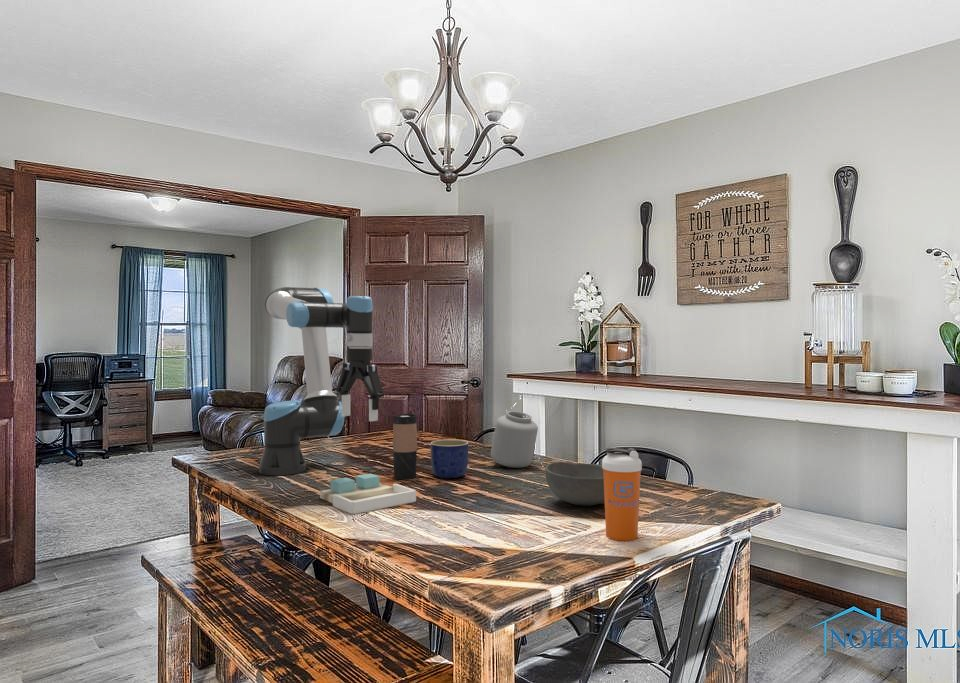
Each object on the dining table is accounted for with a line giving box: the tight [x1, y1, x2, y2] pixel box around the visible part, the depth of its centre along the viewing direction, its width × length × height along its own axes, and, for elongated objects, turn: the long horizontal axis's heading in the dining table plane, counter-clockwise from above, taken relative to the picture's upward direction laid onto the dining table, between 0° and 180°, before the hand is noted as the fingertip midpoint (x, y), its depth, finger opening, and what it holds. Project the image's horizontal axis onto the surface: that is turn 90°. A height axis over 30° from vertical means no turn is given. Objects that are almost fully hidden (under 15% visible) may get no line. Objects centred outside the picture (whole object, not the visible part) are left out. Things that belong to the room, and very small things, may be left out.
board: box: [319, 482, 393, 504], centre depth 183 cm, size 10×18×2 cm, turn 130°
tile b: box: [330, 477, 356, 494], centre depth 181 cm, size 5×5×3 cm
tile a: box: [355, 473, 381, 489], centre depth 186 cm, size 5×5×3 cm
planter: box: [430, 439, 469, 479], centre depth 209 cm, size 12×12×11 cm
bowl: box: [544, 461, 605, 507], centre depth 174 cm, size 20×20×10 cm
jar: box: [490, 395, 544, 469], centre depth 224 cm, size 19×15×25 cm
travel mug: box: [392, 413, 418, 480], centre depth 207 cm, size 8×8×20 cm
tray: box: [332, 483, 417, 515], centre depth 175 cm, size 11×20×3 cm, turn 130°
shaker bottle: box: [601, 447, 643, 542], centre depth 146 cm, size 9×9×20 cm
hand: (359, 418), depth 192 cm, fingers open, 13 cm apart
